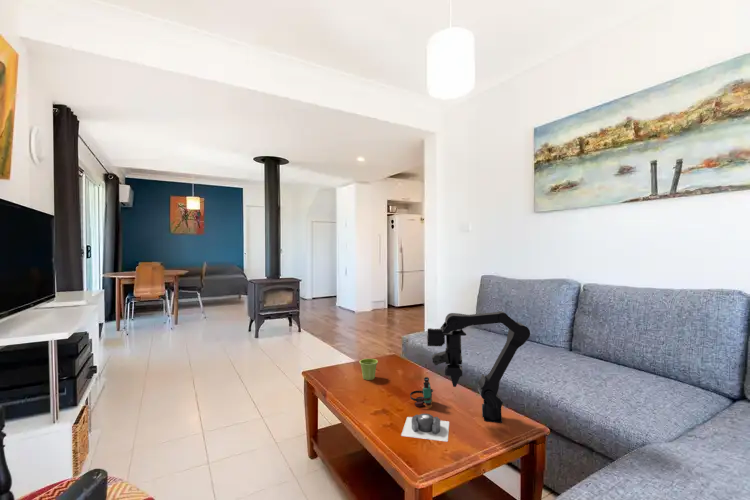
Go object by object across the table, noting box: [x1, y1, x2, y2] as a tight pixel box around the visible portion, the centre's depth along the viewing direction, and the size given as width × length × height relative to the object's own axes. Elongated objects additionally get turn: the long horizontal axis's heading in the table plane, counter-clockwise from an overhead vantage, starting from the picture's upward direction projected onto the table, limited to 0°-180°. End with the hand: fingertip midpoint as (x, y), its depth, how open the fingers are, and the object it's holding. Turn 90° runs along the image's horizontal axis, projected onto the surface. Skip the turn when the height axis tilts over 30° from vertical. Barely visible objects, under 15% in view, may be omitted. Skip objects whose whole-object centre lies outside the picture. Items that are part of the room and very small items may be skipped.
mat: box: [400, 416, 450, 443], centre depth 123 cm, size 16×14×1 cm
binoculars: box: [409, 376, 434, 409], centre depth 143 cm, size 9×11×10 cm
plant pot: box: [359, 358, 379, 381], centre depth 174 cm, size 9×9×9 cm
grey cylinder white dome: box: [417, 413, 434, 432], centre depth 123 cm, size 6×6×4 cm
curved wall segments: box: [411, 414, 441, 435], centre depth 123 cm, size 10×7×3 cm
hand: (454, 386), depth 132 cm, fingers closed
